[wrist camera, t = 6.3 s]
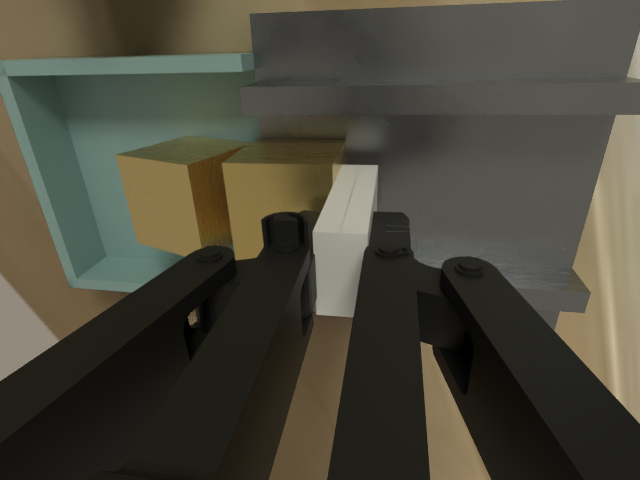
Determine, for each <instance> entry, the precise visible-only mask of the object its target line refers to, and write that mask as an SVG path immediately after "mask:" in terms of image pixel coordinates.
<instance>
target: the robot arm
mask: <svg viewBox="0 0 640 480" xmlns="http://www.w3.org/2000/svg"><path fill="white" fill-rule="evenodd" d="M377 189H378V165H342V167H341V169H340V171H339V173H338V176H337V178H336V180H335V182H334V184H333V186H332V189H331V191H330V193H329V195H328V198H327V200H326V202H325V205H324V207H323V209H322V211H312V210H302V211H301V212H299V213H298V212H278V213H273V214H270V215H267V216H265V217H264V218H263V219H261V225H262V234H263V244H264V247H263V249H262V250H261V252H260V253H259V255H258V256H257V258H251V259H243V260H235V254H234V251H233V250H232V249H231V248H228V247H225V246H217V245H212V246H206V247H204V248H201V249H198V250H196V251H194V252H192V253H190V254H189V255H187V256H186V257H184V258H183V259H181V260H180V261H178V262H177V263H175V264H174V265H172V266H171V267H169V268H168V269H166V270H165V271H163V272H162V273H160V274H159V275H157V276H156V277H154V278H153V279H151V280H150V281H148V282H147V283H146V284H144V285H143V286H141V287H140V288H138V289H137V290H135V291H134V292H132V293H131V294H129V295H128V296H126V297H125V298H123V299H122V300H120V301H119V302H117V303H116V304H114V305H113V306H111V307H110V308H108V309H107V310H105V311H104V312H102V313H101V314H99V315H98V316H97V317H95V318H94V319H92V320H91V321H89V322H88V323H86V324H85V325H83V326H82V327H80V328H79V329H77V330H76V331H74V332H73V333H71V334H70V335H68V336H67V337H65V338H64V339H62V340H61V341H59V342H58V343H56V344H55V345H54V346H52V347H51V348H49V349H48V350H46V351H45V352H43V353H42V354H40V355H39V356H37V357H36V358H34V359H33V360H31V361H30V362H28V363H27V364H25V365H24V366H23V367H21V368H19V369H18V370H17V371H15V372H13V373H12V374H10V375H9V376H7V377H6V378H4V379H3V380H2V381H0V480H269V476H270V473H271V470H272V466H273V463H274V459H275V456H276V452H277V449H278V445H279V442H280V439H281V435H282V432H283V428H284V425H285V421H286V418H287V414H288V411H289V408H290V404H291V401H292V397H293V394H294V390H295V387H296V383H297V380H298V376H299V373H300V370H301V366H302V363H303V359H304V356H305V352H306V349H307V345H308V342H309V339H310V335H311V332H312V328H313V308H314V305H315V302H316V315H327V316H340V317H353V323H352V329H351V336H350V342H349V348H348V354H347V360H346V367H345V373H344V379H343V385H342V391H341V398H340V404H339V410H338V416H337V423H336V429H335V435H334V441H333V447H332V454H331V460H330V466H329V472H328V478H327V480H430V471H429V457H428V443H427V430H426V416H425V402H424V388H423V374H422V360H421V346H420V341H421V342H424V343H427V344H430V345H433V347H432V349H433V354H434V357H435V359H436V361H437V363H438V365H439V367H440V370H441V372H442V374H443V376H444V378H445V380H446V382H447V385H448V387H449V389H450V391H451V393H452V395H453V398H454V400H455V402H456V404H457V406H458V408H459V411H460V413H461V415H462V417H463V419H464V421H465V424H466V426H467V428H468V430H469V432H470V434H471V436H472V439H473V441H474V443H475V445H476V447H477V449H478V452H479V454H480V456H481V458H482V460H483V462H484V465H485V467H486V469H487V471H488V473H489V475H490V478H491V480H640V424H639V423H638V422H637V420H636V419H635V418H634V417H633V416H632V415H631V414H630V413H629V412H628V411H627V410H626V408H625V407H624V406H623V405H622V404H621V403H620V402H619V401H618V400H617V399H616V398H615V397H614V395H613V394H612V393H611V392H610V391H609V390H608V389H607V388H606V387H605V386H604V385H603V383H602V382H601V381H600V380H599V379H598V378H597V377H596V376H595V375H594V374H593V373H592V372H591V370H590V369H589V368H588V367H587V366H586V365H585V364H584V363H583V362H582V361H581V360H580V358H579V357H578V356H577V355H576V354H575V353H574V352H573V351H572V350H571V349H570V348H569V346H568V345H567V344H566V343H565V342H564V341H563V340H562V339H561V338H560V337H559V336H558V335H557V333H556V332H555V331H554V330H553V329H552V328H551V327H550V326H549V325H548V324H547V323H546V321H545V320H544V319H543V318H542V317H541V316H540V315H539V314H538V313H537V312H536V311H535V309H534V308H533V307H532V306H531V305H530V304H529V303H528V302H527V301H526V300H525V299H524V298H523V296H522V295H521V294H520V293H519V292H518V291H517V290H516V289H515V288H514V287H513V286H512V284H511V283H510V282H509V281H508V280H507V279H506V278H505V277H504V276H503V275H502V274H501V273H500V271H499V270H498V269H497V268H496V267H495V266H493V265H492V264H491V263H489V262H487V261H484V260H482V259H480V258H477V257H474V258H473V257H471V256H466V257H462V256H459V257H453V258H449V259H448V260H446V261H444V263H443V264H442V267H441V269H439V268H435V267H431V266H427V265H425V264H423V263H420V262H419V261H417V260H416V259H415V258H414V253H413V251H412V249H411V240H410V227H409V226H410V225H409V218H408V217H407V216H406V215H405V214H404V213H403V212H377ZM194 309H195V311H196V316H197V322H195V323H194V324H193V325H191V326H190V325H189V321H188V316H189V314H190V313H191V312H192V311H193V310H194Z"/></svg>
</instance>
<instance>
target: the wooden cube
mask: <svg viewBox="0 0 640 480" xmlns="http://www.w3.org/2000/svg"><path fill="white" fill-rule="evenodd" d="M342 165H346V139H255V140H254V141H252V142H251V143H250V144H248V145H247V146H245V147H244V148H242V149H241V150H240V151H238V152H237V153H235V154H234V155H232V156H231V157H230V158H228V159H227V160H225V161H224V162H223V163H222V169H223V176H224V183H225V190H226V197H227V204H228V211H229V218H230V225H231V232H232V239H233V246H234V253H235V260H243V259H251V258H257V256H258V255H259V253H260V252H261V250H262V249H263V247H264V244H263V234H262V225H261V219H263V218H264V217H265V216H267V215H270V214H273V213H278V212H298V213H299V212H301V211H302V210H312V211H322V209H323V207H324V205H325V202H326V200H327V198H328V195H329V193H330V191H331V189H332V186H333V184H334V182H335V180H336V178H337V176H338V173H339V171H340V169H341V167H342Z"/></svg>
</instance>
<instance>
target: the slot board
mask: <svg viewBox="0 0 640 480" xmlns="http://www.w3.org/2000/svg"><path fill="white" fill-rule="evenodd" d="M250 23H251V34H252V45H253V56H254V67H255V78H256V82H255V83H251V84H248V85H245V86H242V87H240V97H241V106H242V115H259V122H260V133H261V139H346V165H378V189H377V212H403V213H404V214H405V215H406V216H407V217H408V218H409V225H410V226H409V227H410V240H411V249H412V251H413V253H414V258H415V259H416V260H417V261H419V262H420V263H423V264H425V265H427V266H431V267H435V268H439V269H441V267H442V264H443V263H444V261H446V260H448V259H449V258H453V257H459V256H462V257H466V256H471V257H473V258H474V257H477V258H480V259H482V260H484V261H487V262H489V263H491V264H492V265H493V266H495V267H496V268H497V269H498V270H499V271H500V273H501V274H502V275H503V276H504V277H505V278H506V279H507V280H508V281H509V282H510V283H511V284H512V286H513V287H514V288H515V289H516V290H517V291H518V292H519V293H520V294H521V295H522V296H523V298H524V299H525V300H526V301H527V302H528V303H529V304H530V305H531V306H532V307H533V308H534V309H535V311H536V312H537V313H538V314H539V315H540V316H541V317H542V318H543V319H544V320H545V321H546V323H547V324H548V325H549V326H550V327H551V328H552V329H553V330H554V329H555V326H556V322H557V319H558V315H559V312H560V311H565V312H579V313H585V309H586V306H587V303H588V300H589V297H590V294H591V292H590V291H589V290H588V288H587V287H586V286H585V285H584V283H583V282H582V281H581V279H580V278H579V277H578V275H577V274H576V273H575V271H574V270H573V269H572V266H573V263H574V259H575V256H576V252H577V249H578V245H579V242H580V238H581V235H582V231H583V228H584V224H585V221H586V217H587V214H588V210H589V207H590V203H591V200H592V196H593V193H594V189H595V186H596V182H597V179H598V175H599V172H600V168H601V165H602V161H603V158H604V154H605V151H606V147H607V144H608V140H609V137H610V133H611V130H612V126H613V123H614V119H615V116H616V115H640V79H636V78H630V77H627V74H628V70H629V67H630V63H631V60H632V56H633V53H634V49H635V46H636V42H637V39H638V35H639V32H640V0H563V1H539V2H516V3H492V4H469V5H445V6H422V7H398V8H374V9H351V10H327V11H304V12H280V13H257V14H250ZM313 311H316V302H315V305H314V308H313Z"/></svg>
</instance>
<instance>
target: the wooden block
mask: <svg viewBox="0 0 640 480" xmlns="http://www.w3.org/2000/svg"><path fill="white" fill-rule="evenodd" d="M250 143H251V142H247V141H237V140H228V139H218V138H208V137H199V136H189V135H188V136H184V137H180V138H176V139H173V140H169V141H165V142H161V143H157V144H154V145H150V146H146V147H142V148H139V149H135V150H131V151H127V152H124V153H120V154H116V159H117V163H118V167H119V171H120V175H121V179H122V183H123V187H124V191H125V195H126V199H127V203H128V207H129V211H130V214H131V218H132V222H133V226H134V230H135V234H136V238H137V242H138V243H140V244H144V245H147V246H150V247H154V248H157V249H161V250H164V251H168V252H171V253H175V254H178V255H182V256H185V257H186V256H187V255H189V254H190V253H192V252H194V251H196V250H198V249H201V248H204V247H206V246H212V245H217V246H225V247H229V246H231V245H232V244H233V239H232V232H231V225H230V218H229V211H228V204H227V197H226V190H225V183H224V176H223V169H222V163H223V162H224V161H225V160H227V159H228V158H230V157H231V156H232V155H234V154H235V153H237V152H238V151H240V150H241V149H242V148H244V147H245V146H247V145H248V144H250Z"/></svg>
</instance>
